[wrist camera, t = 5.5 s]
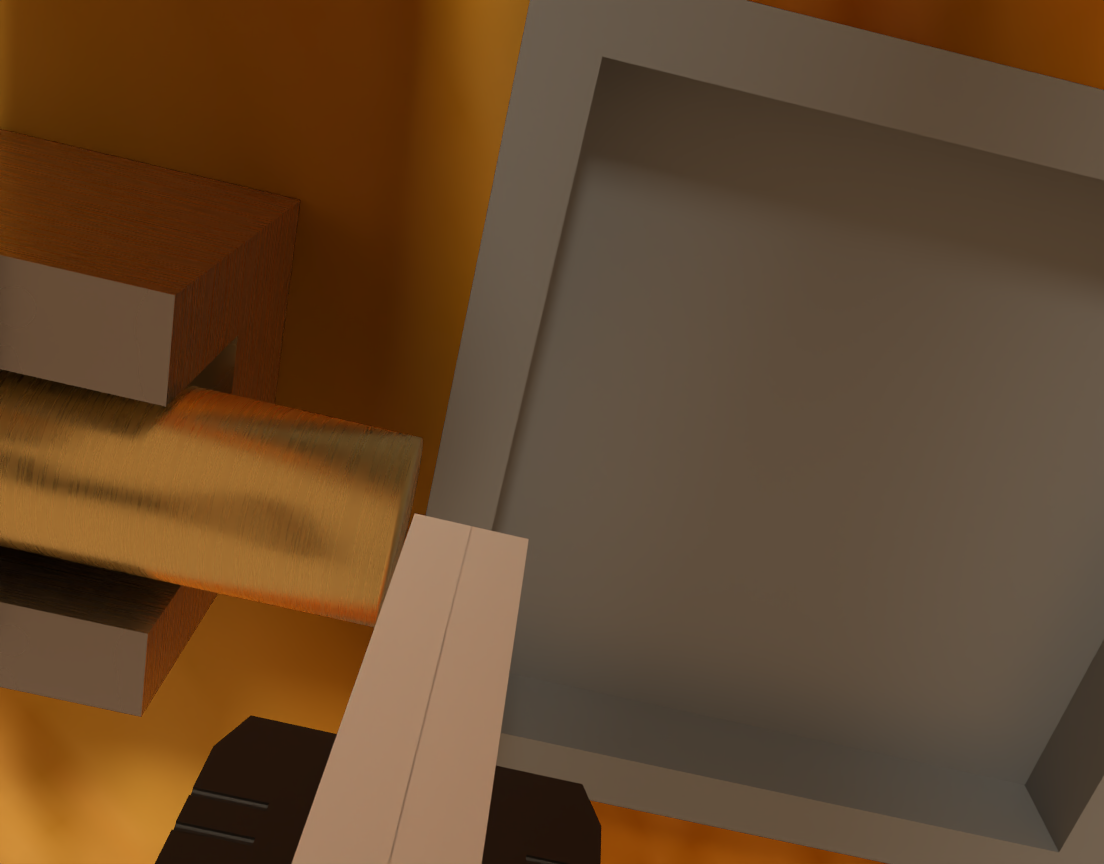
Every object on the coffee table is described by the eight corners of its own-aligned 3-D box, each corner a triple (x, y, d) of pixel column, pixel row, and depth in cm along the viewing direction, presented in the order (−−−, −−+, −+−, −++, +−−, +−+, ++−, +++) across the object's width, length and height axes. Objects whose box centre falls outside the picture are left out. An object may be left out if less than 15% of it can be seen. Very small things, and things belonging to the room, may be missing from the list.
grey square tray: (549, -50, 17) (539, -51, 15) (1409, 166, 18) (1527, 195, 15) (399, 677, 23) (376, 755, 21) (1043, 816, 24) (1089, 906, 22)
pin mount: (-31, 122, 19) (-386, 207, 12) (300, 200, 19) (132, 327, 12) (-29, 464, 21) (-315, 688, 15) (258, 527, 22) (104, 775, 15)
